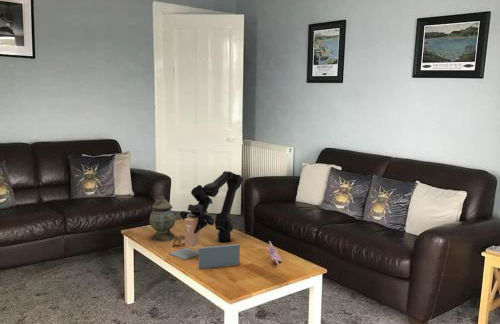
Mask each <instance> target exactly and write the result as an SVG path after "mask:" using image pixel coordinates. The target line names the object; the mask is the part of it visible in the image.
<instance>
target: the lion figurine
mask: <svg viewBox="0 0 500 324" xmlns="http://www.w3.org/2000/svg"><path fill="white" fill-rule="evenodd" d="M181 241H185V232H184V233H177V234H175V238H174V239H173V242H172V243H173V245H172V247H174V246H176V243H177V242H178V243H177V244H178V246H179V247H183V245H182V244H181Z"/></svg>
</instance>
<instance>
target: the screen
mask: <svg viewBox="0 0 500 324" xmlns="http://www.w3.org/2000/svg"><path fill="white" fill-rule="evenodd" d="M240 247H241V246H240V244H239V243H238V244H237V243H236V244H225V245H216V246H215V245H214V246H204V247H203V246H202V247H198V251H199V255H198V270H200V269H201V270H202V269H210V268H218V267H219V268H220V267H229V266H231V267H232V266H239V265H240V260H241V259H240V257H241V256H240V255H241V254H240V249H241V248H240Z"/></svg>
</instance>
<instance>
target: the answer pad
mask: <svg viewBox="0 0 500 324" xmlns="http://www.w3.org/2000/svg"><path fill="white" fill-rule="evenodd" d="M168 255H170V256H172V257H174V258H175V257H176V258H178V259H181V260H184V261H185V260H188V259H191V258H194V257H196V256H199V250H195V249H192V248H190V247H184V248H180V249H177V250H175V251H172V252H169V253H168Z"/></svg>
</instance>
